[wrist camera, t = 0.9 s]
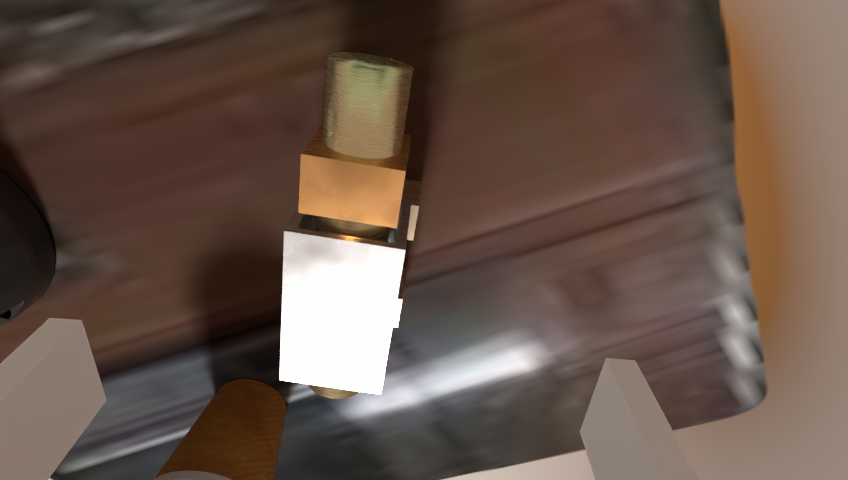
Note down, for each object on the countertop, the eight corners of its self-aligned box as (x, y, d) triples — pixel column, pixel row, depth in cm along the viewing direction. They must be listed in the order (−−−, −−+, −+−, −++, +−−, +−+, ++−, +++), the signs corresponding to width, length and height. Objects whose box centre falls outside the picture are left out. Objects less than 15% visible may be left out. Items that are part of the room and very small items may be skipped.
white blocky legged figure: (310, 283, 37) (270, 378, 29) (318, 160, 33) (273, 229, 24) (401, 297, 38) (389, 395, 29) (421, 177, 33) (415, 251, 24)
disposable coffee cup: (176, 379, 43) (90, 513, 32) (272, 352, 41) (215, 484, 30) (233, 449, 47) (173, 588, 36) (322, 427, 45) (287, 566, 35)
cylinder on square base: (310, 342, 35) (289, 403, 30) (331, 44, 25) (305, 62, 20) (377, 351, 35) (367, 413, 30) (423, 61, 26) (419, 82, 21)
